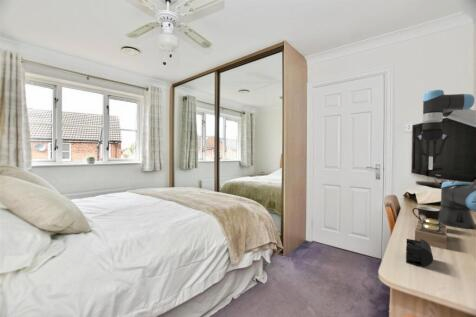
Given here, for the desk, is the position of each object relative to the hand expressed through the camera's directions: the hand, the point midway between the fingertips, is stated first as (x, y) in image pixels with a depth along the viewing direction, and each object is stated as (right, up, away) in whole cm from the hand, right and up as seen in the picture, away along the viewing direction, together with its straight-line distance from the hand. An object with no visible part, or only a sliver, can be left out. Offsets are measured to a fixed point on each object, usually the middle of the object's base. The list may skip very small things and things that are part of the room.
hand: (430, 169), depth 112 cm
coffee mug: (+2, -31, +5) cm, 31 cm away
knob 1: (-6, -26, -8) cm, 27 cm away
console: (-10, -31, -12) cm, 34 cm away
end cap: (-32, -32, -32) cm, 55 cm away
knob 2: (-14, -26, -16) cm, 33 cm away
